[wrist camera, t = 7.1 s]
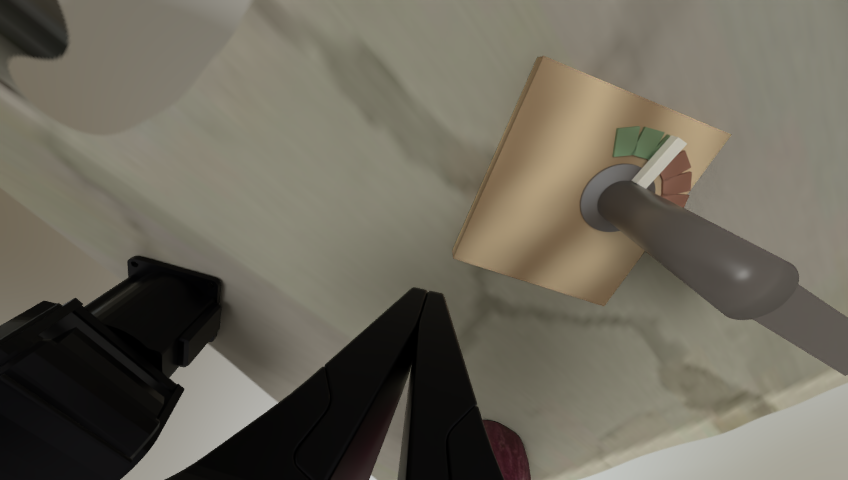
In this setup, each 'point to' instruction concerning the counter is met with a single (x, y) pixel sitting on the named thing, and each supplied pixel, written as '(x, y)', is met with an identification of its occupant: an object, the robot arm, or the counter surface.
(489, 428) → the vegetable
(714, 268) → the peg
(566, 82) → the wooden board
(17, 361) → the robot arm
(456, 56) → the counter surface
